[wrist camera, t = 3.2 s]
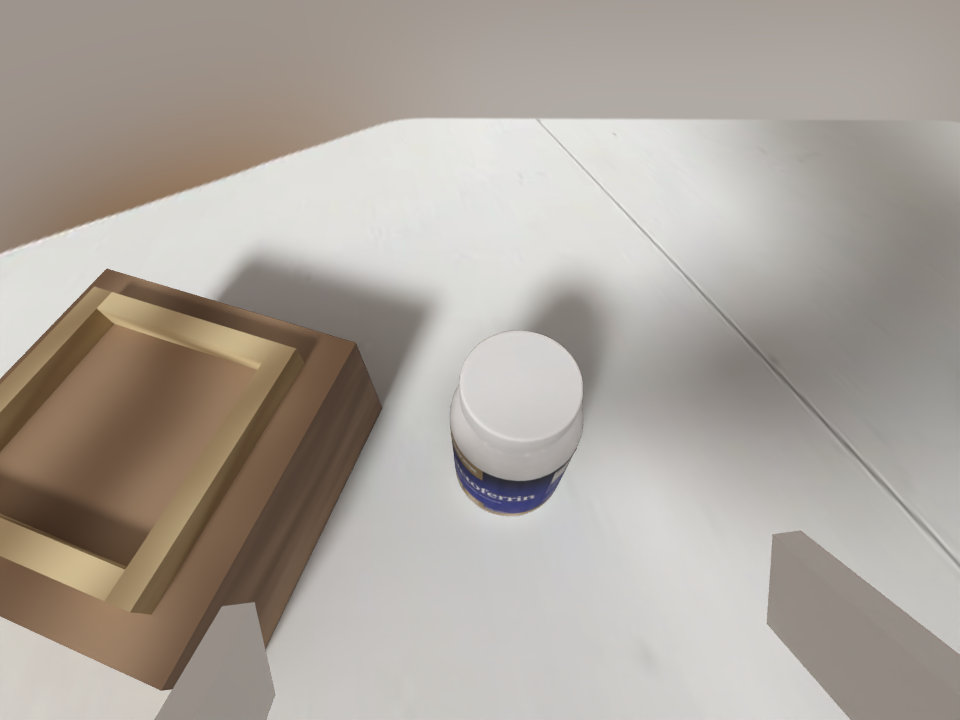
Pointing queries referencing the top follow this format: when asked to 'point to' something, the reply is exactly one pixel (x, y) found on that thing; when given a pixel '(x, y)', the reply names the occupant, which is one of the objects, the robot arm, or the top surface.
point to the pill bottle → (515, 421)
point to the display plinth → (168, 469)
